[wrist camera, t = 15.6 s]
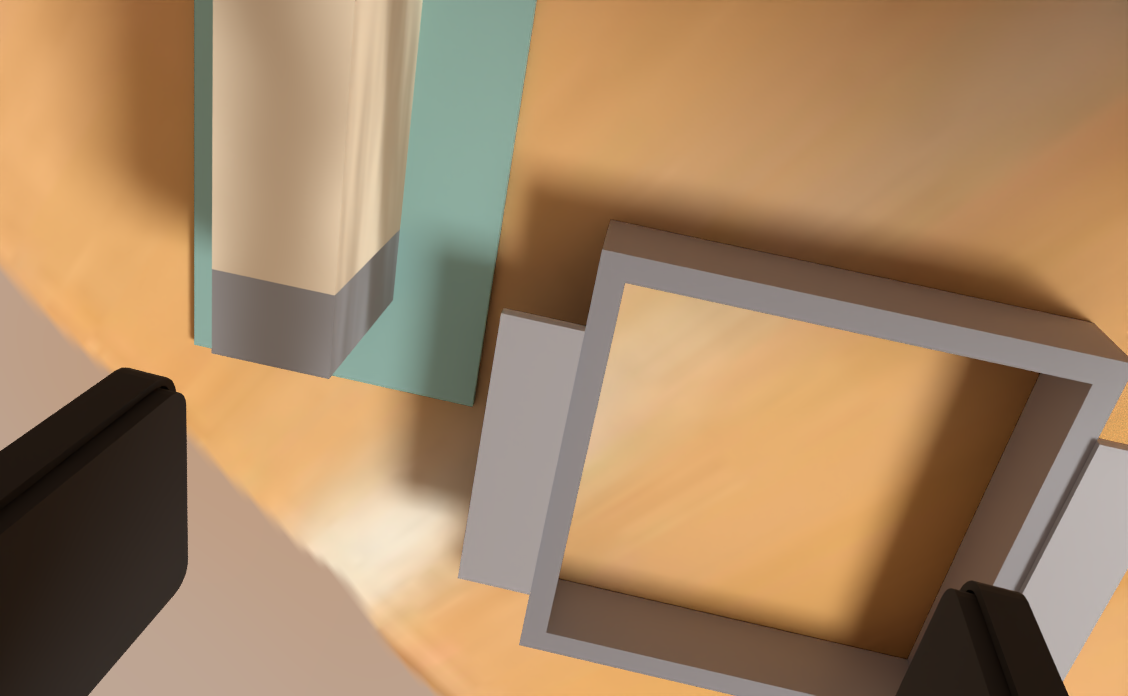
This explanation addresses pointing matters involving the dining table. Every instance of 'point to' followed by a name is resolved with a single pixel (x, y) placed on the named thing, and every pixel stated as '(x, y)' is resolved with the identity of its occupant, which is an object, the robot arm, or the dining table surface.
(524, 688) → the dining table surface
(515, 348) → the open square frame
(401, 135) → the block
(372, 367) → the mat
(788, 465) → the dining table surface
